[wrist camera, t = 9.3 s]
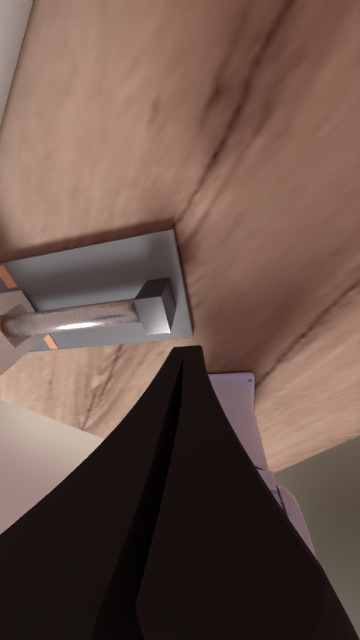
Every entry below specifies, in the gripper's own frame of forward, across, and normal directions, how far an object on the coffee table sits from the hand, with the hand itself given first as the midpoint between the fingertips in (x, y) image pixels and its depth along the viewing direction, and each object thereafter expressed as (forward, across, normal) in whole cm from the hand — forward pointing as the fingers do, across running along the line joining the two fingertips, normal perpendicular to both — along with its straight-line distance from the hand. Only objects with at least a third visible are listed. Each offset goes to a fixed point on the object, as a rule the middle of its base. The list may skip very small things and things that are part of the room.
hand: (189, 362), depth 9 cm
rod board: (+9, +13, 0) cm, 16 cm away
